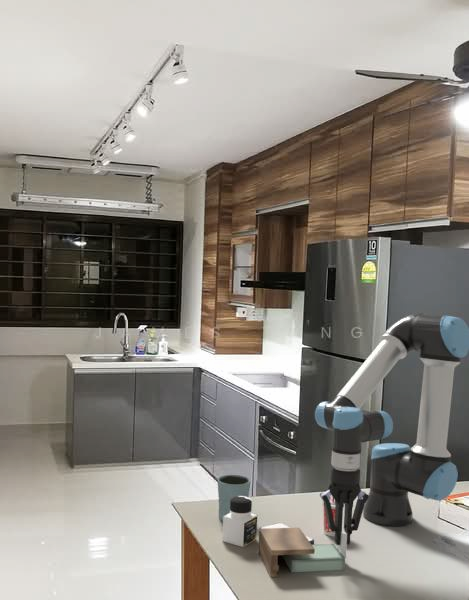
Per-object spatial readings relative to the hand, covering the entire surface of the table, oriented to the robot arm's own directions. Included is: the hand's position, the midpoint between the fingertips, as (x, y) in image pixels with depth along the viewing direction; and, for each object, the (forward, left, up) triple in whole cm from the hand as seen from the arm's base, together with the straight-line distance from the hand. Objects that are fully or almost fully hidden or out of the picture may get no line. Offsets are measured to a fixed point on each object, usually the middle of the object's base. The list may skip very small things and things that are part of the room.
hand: (341, 556), depth 172 cm
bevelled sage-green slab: (+8, 0, -2) cm, 8 cm away
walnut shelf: (+15, 0, -2) cm, 15 cm away
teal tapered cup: (+23, -33, -2) cm, 40 cm away
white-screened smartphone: (+10, -17, -2) cm, 20 cm away
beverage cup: (-4, -19, -2) cm, 20 cm away
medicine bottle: (+24, -16, -2) cm, 29 cm away
